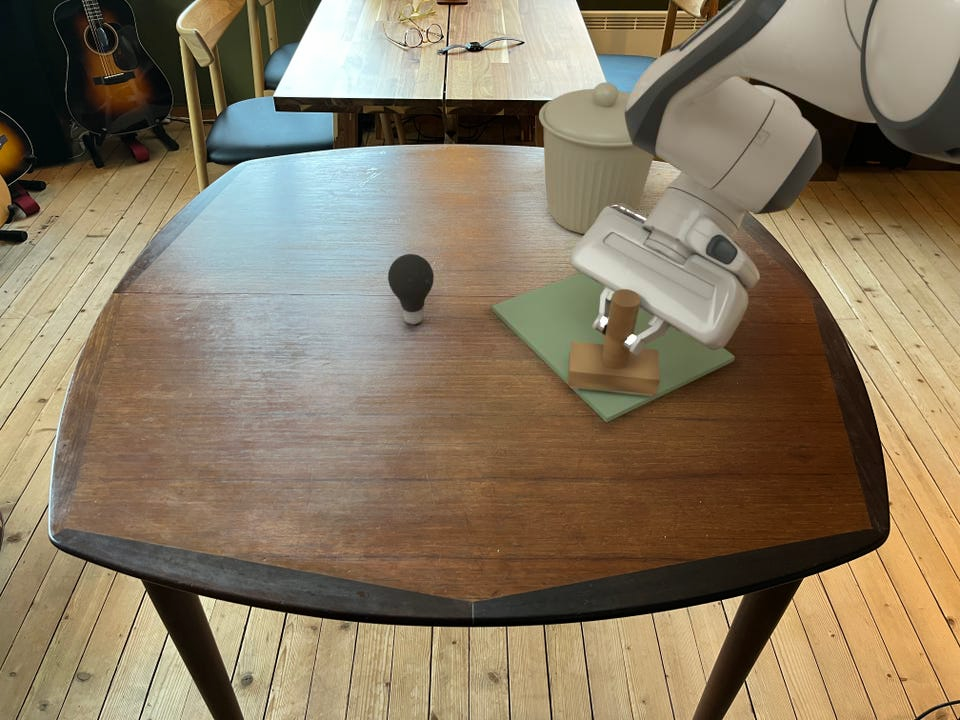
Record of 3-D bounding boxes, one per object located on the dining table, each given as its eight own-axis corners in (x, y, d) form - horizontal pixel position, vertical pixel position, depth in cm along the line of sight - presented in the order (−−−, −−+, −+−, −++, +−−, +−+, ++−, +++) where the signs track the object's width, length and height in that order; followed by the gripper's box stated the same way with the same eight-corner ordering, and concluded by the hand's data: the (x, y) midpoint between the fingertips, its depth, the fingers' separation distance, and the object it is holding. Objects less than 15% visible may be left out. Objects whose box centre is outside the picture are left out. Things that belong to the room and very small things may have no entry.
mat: (733, 361, 90) (735, 356, 89) (606, 422, 82) (607, 417, 81) (609, 266, 105) (609, 261, 105) (491, 310, 97) (491, 305, 97)
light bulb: (387, 333, 93) (381, 268, 87) (397, 307, 97) (392, 242, 91) (430, 338, 93) (427, 273, 86) (439, 311, 97) (437, 247, 90)
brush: (653, 368, 87) (673, 287, 78) (655, 398, 83) (676, 317, 75) (568, 360, 88) (579, 279, 79) (566, 389, 84) (577, 308, 76)
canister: (669, 214, 116) (696, 81, 102) (608, 263, 106) (630, 122, 92) (574, 179, 125) (587, 51, 111) (509, 221, 114) (515, 86, 100)
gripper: (601, 185, 82) (534, 290, 84) (761, 264, 71) (680, 383, 72) (621, 207, 87) (558, 305, 89) (774, 284, 76) (697, 395, 78)
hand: (614, 341), depth 81 cm, fingers closed on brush, 3 cm apart
